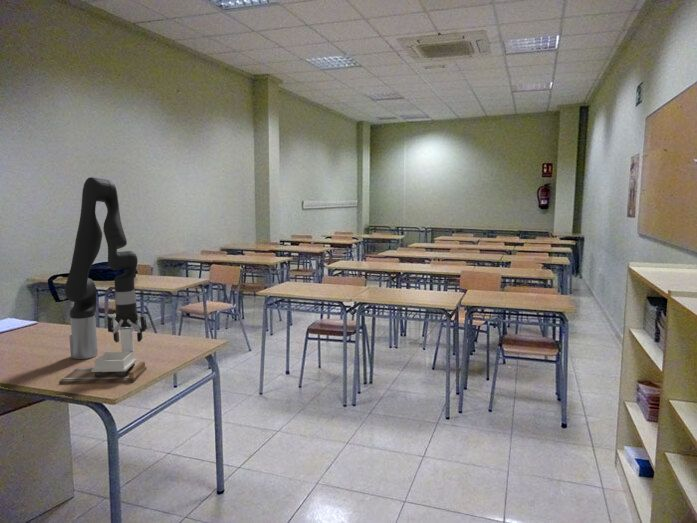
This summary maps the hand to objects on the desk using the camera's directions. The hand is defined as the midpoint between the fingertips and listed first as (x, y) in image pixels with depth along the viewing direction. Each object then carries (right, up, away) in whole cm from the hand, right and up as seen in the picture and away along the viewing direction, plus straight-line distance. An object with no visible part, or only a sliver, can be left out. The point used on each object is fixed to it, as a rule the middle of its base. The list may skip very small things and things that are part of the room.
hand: (128, 341), depth 198 cm
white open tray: (0, -10, -12) cm, 15 cm away
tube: (0, -10, +1) cm, 10 cm away
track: (-4, -11, -12) cm, 17 cm away
